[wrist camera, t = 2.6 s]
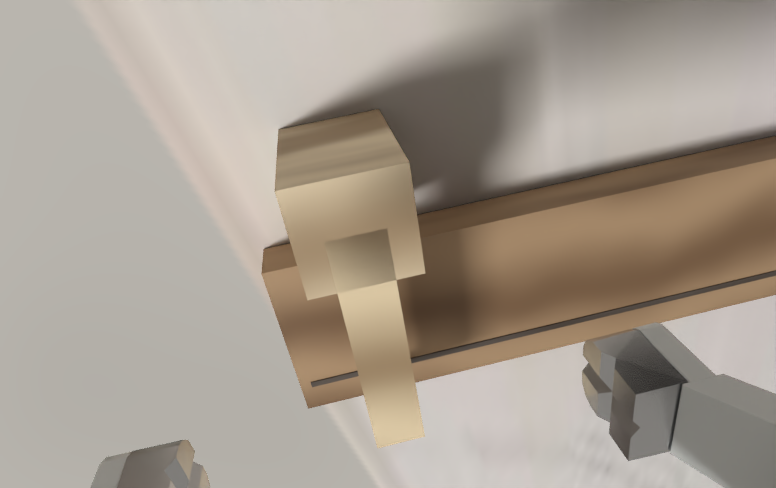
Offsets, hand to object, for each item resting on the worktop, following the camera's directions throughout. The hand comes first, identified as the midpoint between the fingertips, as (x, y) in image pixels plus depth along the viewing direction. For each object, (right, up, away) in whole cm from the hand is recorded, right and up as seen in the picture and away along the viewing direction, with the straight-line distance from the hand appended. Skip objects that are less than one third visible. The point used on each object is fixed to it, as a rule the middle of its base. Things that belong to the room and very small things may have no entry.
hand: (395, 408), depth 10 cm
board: (+8, +3, +15) cm, 17 cm away
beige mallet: (-2, +3, +13) cm, 13 cm away
